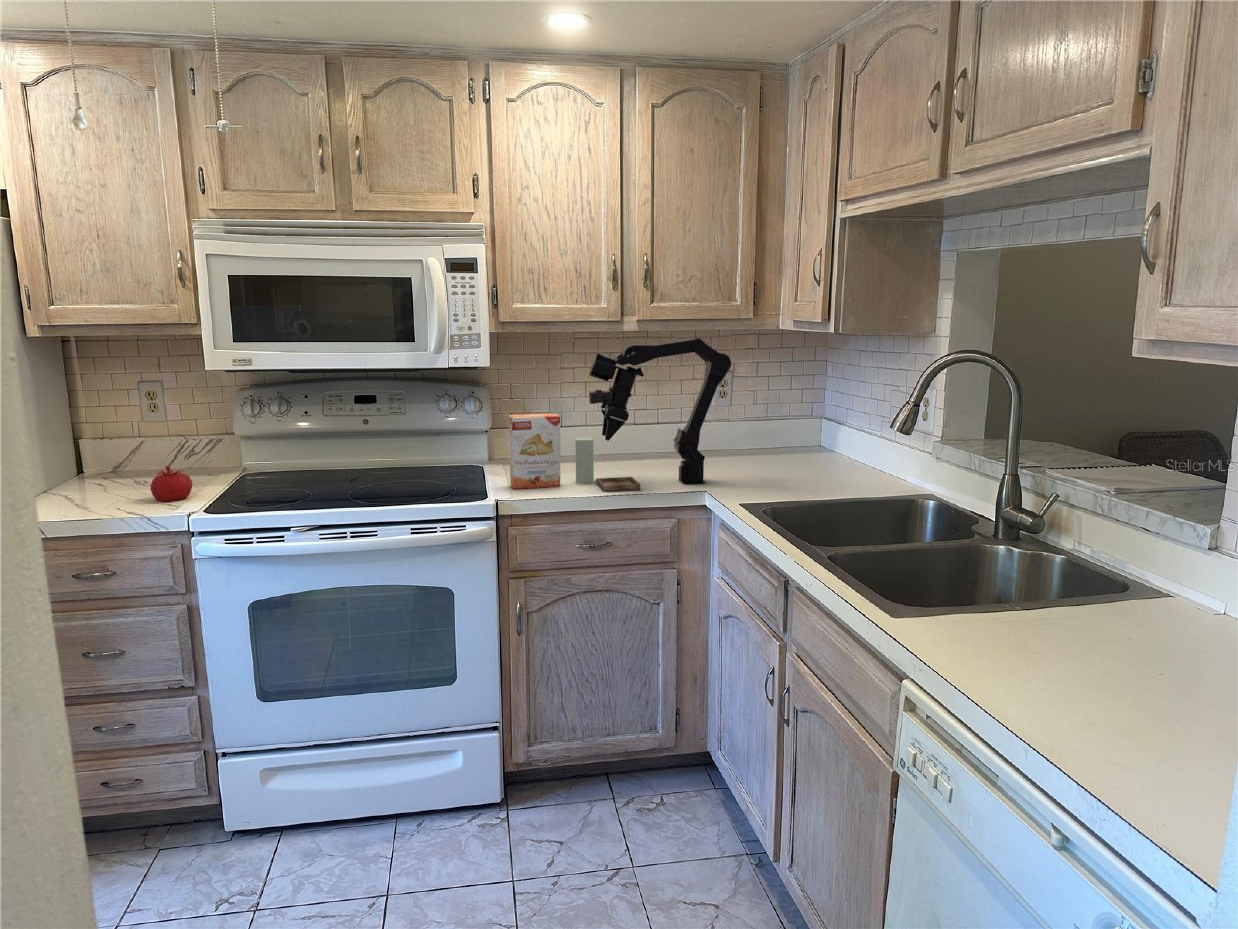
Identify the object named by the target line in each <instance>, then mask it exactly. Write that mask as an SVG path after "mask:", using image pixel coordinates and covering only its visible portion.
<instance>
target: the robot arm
mask: <svg viewBox="0 0 1238 929" xmlns="http://www.w3.org/2000/svg"><path fill="white" fill-rule="evenodd" d="M691 353H695V354H696V355H697V356H698V357H699V358H701V359H702V360H703V362H706V364H705V369H704V379H703V382H702V384H701V388H700V390H699V393H698V396H697V398H696V400H695V403H694V406H693V407H692V410H691V414H690V416H689V418H688V419H687V423H686V424H685V426H684V427H683V429H681V428H677V432H676V435H675V438H673V442H674V444H673V447H674V450H675V452H676V453H677V454H679V456H680V458H681V460H680V465H678V481H679V482H681V483H682V484H684V485H695V484H697V485H698V484H706V481H705V479H704V474H705V473H704V464H705V462H704V461H705V459H706V456H704V455H703V454H702V452H701V451H700V450H699V448H698V447H699V444H700V439H701V438H700V436H701V429H702V427H703V424H704V421H705V419H706V417H707V414H708V411H709V409H710V406H711V403H712V401H713V398H714V396H715V393H716V390H717V389H718V386H719V384H721V383H722V381H723V380H724V379H725V377H726V376H727V374H728V373H729V371H730V369H731V367H732V361H731V358H730V356H729V355H727V354H725V353H721V352H718V351H717V350H715V349H714V348H713V347H711V346H710V345H708V344H707V343H706V342H704V340H703V339H701V338H697V337H693V338H689V339H686V340H685V339H684V340H678V341H677V340H676V341H672V342H665V343H657V344H637V343H635V344H633V343H630V344H627V345H626V346H625V347H624V348H623V350H622V352H621V353H620V354H619V355H617V356H615V358H614V359H613V358H610V357H607V356H604V355H603V354H601V353H596V356H595V357H594V360H593V361H592V363H591V366H590V368H589V371H588V376H589V377H592V378H596V379H599V380H600V381H603V382H604V381H605V382H606V383H607V382H609V380H613V383H612V385H611V386H609V388H608V390H602V389H595V390H593V391H588V398H589V404H590V405H591V404H592V405H595V404H600V411H601V414H602V415H603V420H602V421H603V422H602V432H601V435H602V436H604V439H605V441H610V440H611V439H612V438H613V436H615V434H616V433H617V432H618V431H619V430H620V429H621V427H623V426H624V424H626V422H628V419H629V417H630V414H629V412H628V410H627V409H628V407H627V405H628V402H629V400H630V398H631V397H632V393H631V392H632V390H633V387H634V384H635V381H636V379H637V376H639V377H643V378H644V376H645V374H644V372H643V370H642V368H641V367H640V366H639V365H642V364H646V363H647V362H649V361H652V360H655V359H659V358H665V357H671V356H678V355H685V354H691ZM618 365H619V366H618ZM626 365H627V366H626ZM630 365H631V366H630ZM621 366H626V367H625V368H624V367H621ZM632 366H639V367H632Z"/></svg>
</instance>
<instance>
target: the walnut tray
mask: <svg viewBox="0 0 1238 929" xmlns="http://www.w3.org/2000/svg"><path fill="white" fill-rule="evenodd" d="M595 485H596V486H597V487H598V488H599V489H600V490H601V491H602V492H603V493H611V492H612V493H613V492H635V491H637V492H638V491H641V483H640V482H638V480H637V479H635V478H634V476H622V477H621V476H620V477H600V478H599V477H597V478H596V480H595Z"/></svg>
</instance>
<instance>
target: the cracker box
mask: <svg viewBox="0 0 1238 929" xmlns="http://www.w3.org/2000/svg"><path fill="white" fill-rule="evenodd" d="M508 417H509V418H508V420H509V426H508V427H509V428H508V429H509V475H510V476H509V478H510V482H509V483H510V486H511V488H512V489H513V490H515V489H516V490H521V489H538V488H556V487H557V488H558V487H560V488H561V416H560V415H559V414H557V413H541V414H540V413H535V414H533V413H531V414H529V413H528V414H509V416H508Z"/></svg>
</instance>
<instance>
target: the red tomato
mask: <svg viewBox="0 0 1238 929" xmlns="http://www.w3.org/2000/svg"><path fill="white" fill-rule="evenodd" d="M165 469H166V471H164V470H162V471H160V472H157V473H156V476H155V477H153V479H152V480H151V482H150V492H151V495H152V497H153V498H154V499H155V500H157V501H159V502H163V503H166V502H175V501H180V500H185V499H186V498H188V497H190V494H191V492H192V488H193V483H194V482H193V480H192V478H191V476H189V475H188V474H185V471H184V470H181V469H180V470H177V471H176V470H175V469H172V470H171V465H165Z"/></svg>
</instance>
